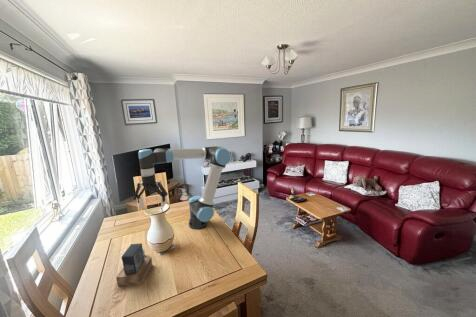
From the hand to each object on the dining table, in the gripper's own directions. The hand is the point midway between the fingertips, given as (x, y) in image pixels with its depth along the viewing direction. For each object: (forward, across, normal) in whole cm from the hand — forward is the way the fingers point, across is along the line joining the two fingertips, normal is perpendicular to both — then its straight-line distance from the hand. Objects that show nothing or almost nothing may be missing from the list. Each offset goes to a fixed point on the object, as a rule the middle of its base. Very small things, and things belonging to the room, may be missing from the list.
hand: (152, 207), depth 125 cm
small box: (+24, +3, +23) cm, 33 cm away
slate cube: (+29, +7, +10) cm, 31 cm away
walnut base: (+29, +3, +23) cm, 37 cm away
